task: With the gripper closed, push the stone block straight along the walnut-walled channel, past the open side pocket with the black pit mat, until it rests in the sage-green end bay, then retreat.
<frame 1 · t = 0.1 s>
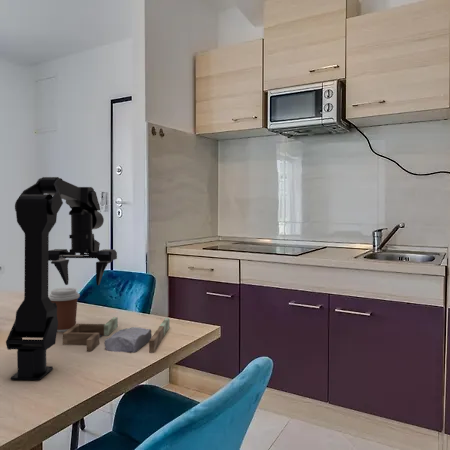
hand: (82, 284, 118), 15 cm above the table, tool pointing down, fingers open, 9 cm apart
channel: (130, 339, 114), on the table
coffee cup: (64, 329, 124), on the table
stone block: (127, 346, 110), on the table
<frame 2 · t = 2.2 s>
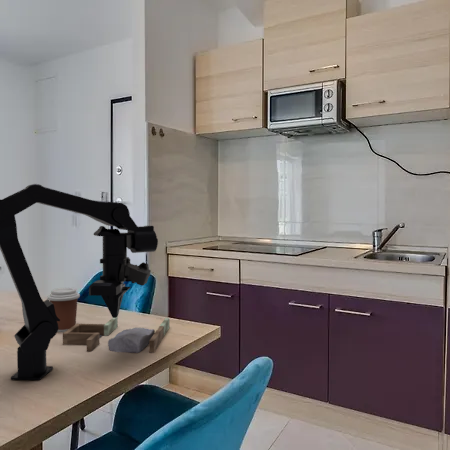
hand: (115, 317, 100), 10 cm above the table, tool pointing down, fingers closed
stone block: (130, 346, 110), on the table
everything else where it was.
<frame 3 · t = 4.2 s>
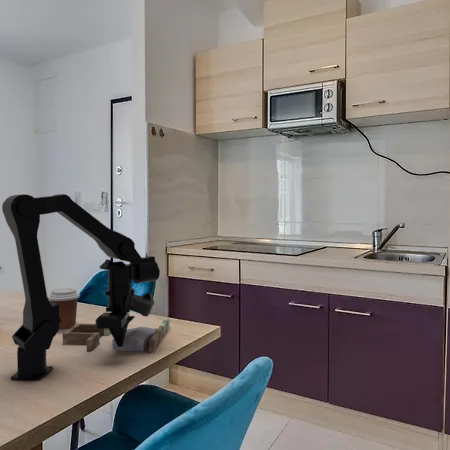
hand: (120, 346, 104), 1 cm above the table, tool pointing down, fingers closed
stone block: (134, 345, 111), on the table, touching gripper
everything else where it was.
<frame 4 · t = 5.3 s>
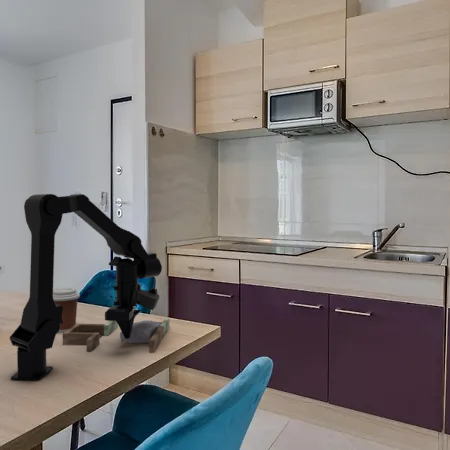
hand: (127, 338, 111), 1 cm above the table, tool pointing down, fingers closed
stone block: (140, 337, 117), on the table, touching gripper
everything else where it was.
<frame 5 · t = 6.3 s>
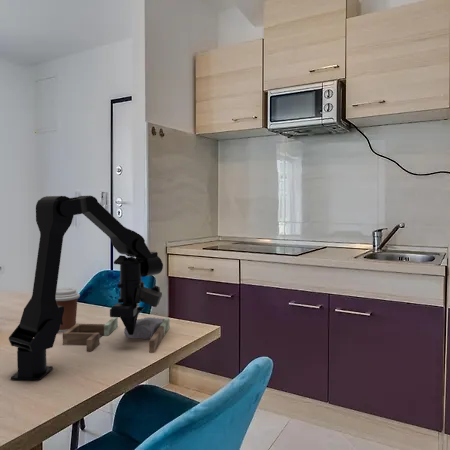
hand: (131, 334, 114), 1 cm above the table, tool pointing down, fingers closed
stone block: (144, 334, 121), on the table, touching channel
everything else where it was.
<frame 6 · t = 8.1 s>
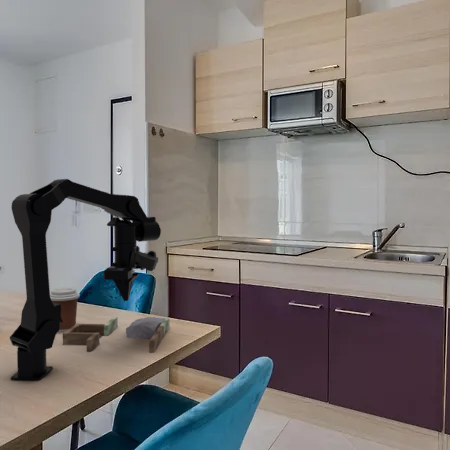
hand: (126, 300, 110), 12 cm above the table, tool pointing down, fingers closed
nothing on the table moved.
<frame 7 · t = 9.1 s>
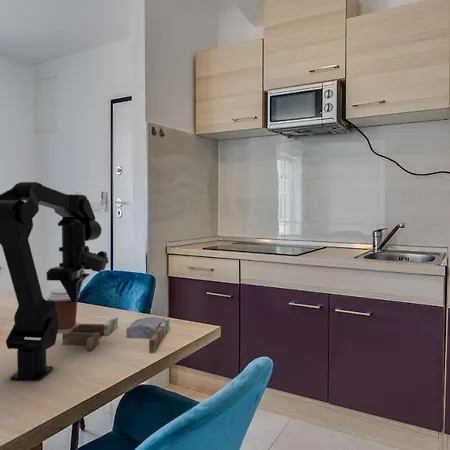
hand: (74, 302, 107), 12 cm above the table, tool pointing down, fingers closed
stone block: (145, 333, 121), on the table
everything else where it was.
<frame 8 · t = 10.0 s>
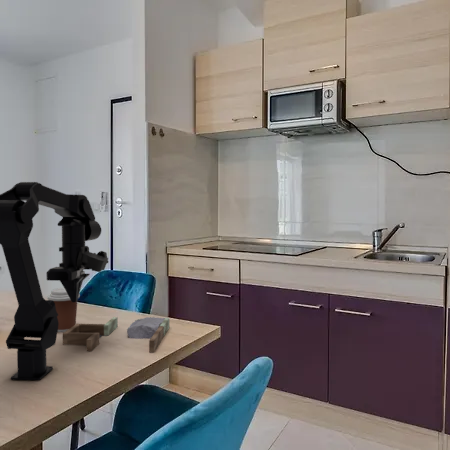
hand: (74, 302, 107), 12 cm above the table, tool pointing down, fingers closed
nothing on the table moved.
at the end: stone block inside the target area (2.6 cm from its centre), on the table; stone block moved 11.0 cm from its start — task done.
